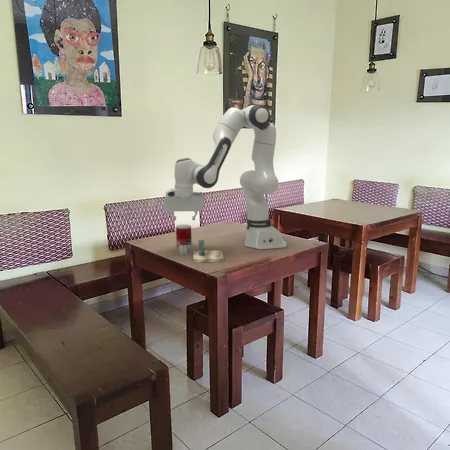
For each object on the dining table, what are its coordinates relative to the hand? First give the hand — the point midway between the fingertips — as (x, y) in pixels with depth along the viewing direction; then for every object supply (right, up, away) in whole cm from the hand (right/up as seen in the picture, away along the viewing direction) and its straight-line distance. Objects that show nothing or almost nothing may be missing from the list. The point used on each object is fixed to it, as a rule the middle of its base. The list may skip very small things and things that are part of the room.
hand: (184, 220), depth 205 cm
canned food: (-1, -14, +15) cm, 20 cm away
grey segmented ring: (0, -16, +4) cm, 17 cm away
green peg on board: (+12, -18, -5) cm, 22 cm away
